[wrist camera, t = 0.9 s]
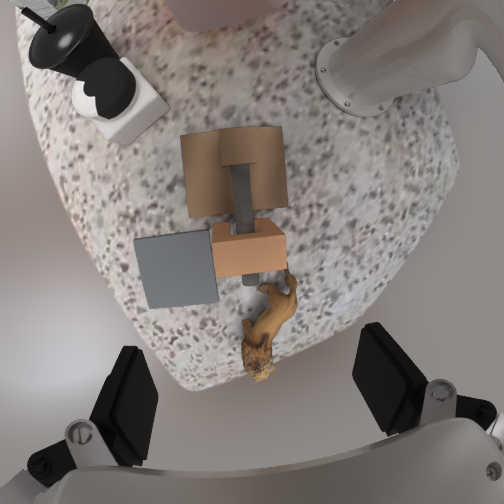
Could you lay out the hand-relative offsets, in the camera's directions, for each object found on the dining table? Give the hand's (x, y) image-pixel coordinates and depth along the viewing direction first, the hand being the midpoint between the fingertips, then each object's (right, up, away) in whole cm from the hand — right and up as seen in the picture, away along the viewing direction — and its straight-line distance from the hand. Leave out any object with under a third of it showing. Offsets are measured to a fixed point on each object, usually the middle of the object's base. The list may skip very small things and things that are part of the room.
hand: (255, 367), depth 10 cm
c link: (-1, +7, +19) cm, 21 cm away
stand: (-2, +12, +23) cm, 26 cm away
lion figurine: (+2, -4, +28) cm, 28 cm away
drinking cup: (-20, +29, +16) cm, 38 cm away
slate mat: (-10, +2, +25) cm, 27 cm away
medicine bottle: (-15, +23, +18) cm, 33 cm away
